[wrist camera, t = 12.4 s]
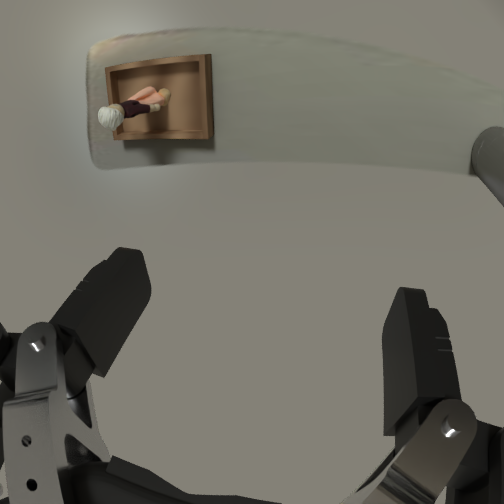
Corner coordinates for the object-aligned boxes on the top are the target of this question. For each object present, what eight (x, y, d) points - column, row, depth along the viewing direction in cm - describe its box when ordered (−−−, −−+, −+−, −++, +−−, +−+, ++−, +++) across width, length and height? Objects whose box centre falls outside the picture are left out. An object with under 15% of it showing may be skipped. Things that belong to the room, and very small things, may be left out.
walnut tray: (211, 54, 37) (204, 54, 35) (214, 134, 44) (208, 139, 42) (114, 65, 40) (104, 67, 38) (122, 135, 47) (113, 140, 45)
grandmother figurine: (173, 79, 39) (124, 96, 29) (179, 104, 42) (132, 128, 32) (130, 91, 41) (76, 112, 32) (135, 114, 44) (84, 140, 34)
